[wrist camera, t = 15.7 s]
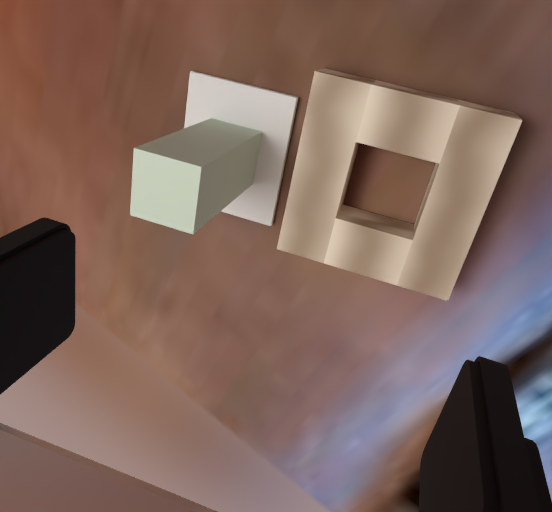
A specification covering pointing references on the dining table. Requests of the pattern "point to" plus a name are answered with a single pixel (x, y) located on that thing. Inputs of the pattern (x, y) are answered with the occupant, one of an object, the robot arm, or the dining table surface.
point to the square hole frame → (405, 140)
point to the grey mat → (256, 115)
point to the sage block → (193, 173)
